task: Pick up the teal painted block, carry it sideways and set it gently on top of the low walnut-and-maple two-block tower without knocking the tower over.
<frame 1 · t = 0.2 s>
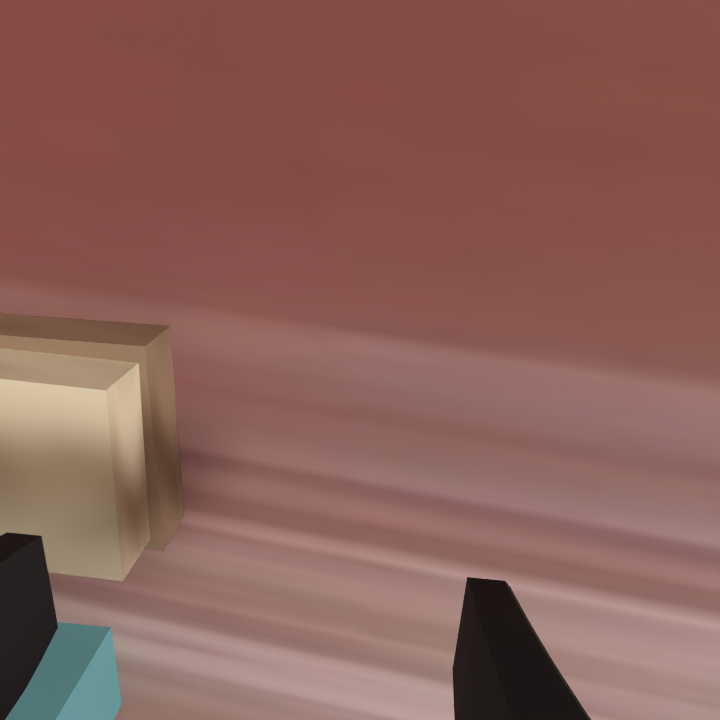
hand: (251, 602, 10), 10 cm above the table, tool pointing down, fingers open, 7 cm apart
maple top block: (46, 445, 18), point 2 cm above the table, touching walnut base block
teal block: (66, 659, 25), on the table
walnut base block: (82, 411, 21), on the table, touching maple top block
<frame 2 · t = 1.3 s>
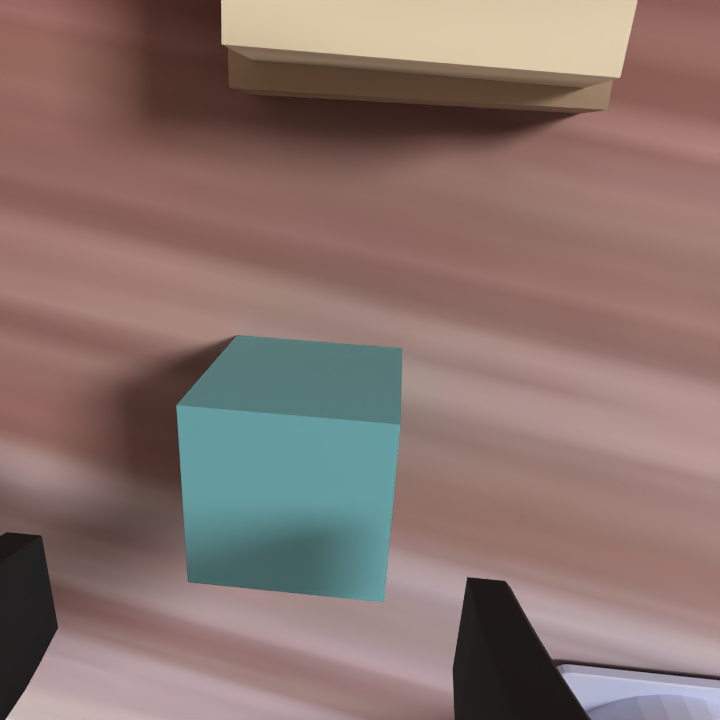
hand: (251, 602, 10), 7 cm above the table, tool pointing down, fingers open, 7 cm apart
teal block: (316, 414, 16), on the table
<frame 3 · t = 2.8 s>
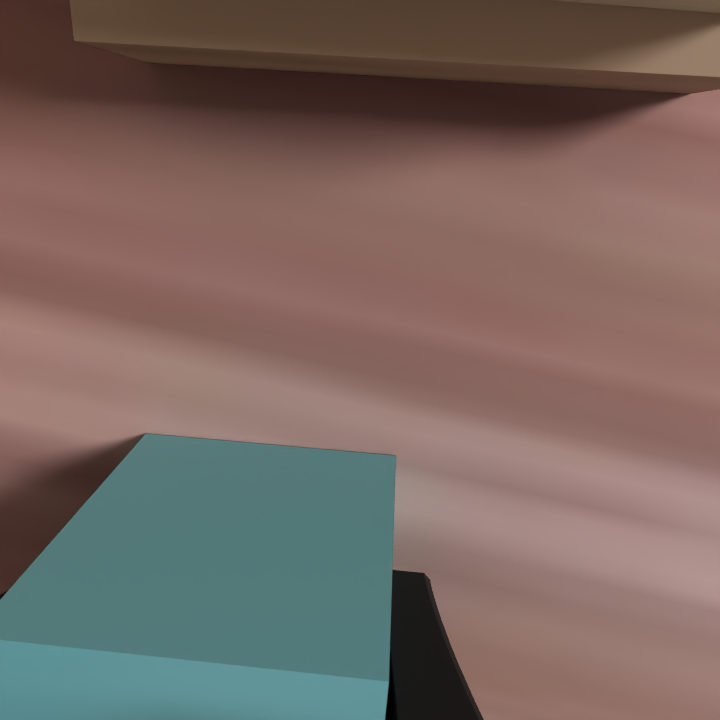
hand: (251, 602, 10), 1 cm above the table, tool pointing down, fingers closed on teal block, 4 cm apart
teal block: (269, 546, 11), on the table, touching gripper
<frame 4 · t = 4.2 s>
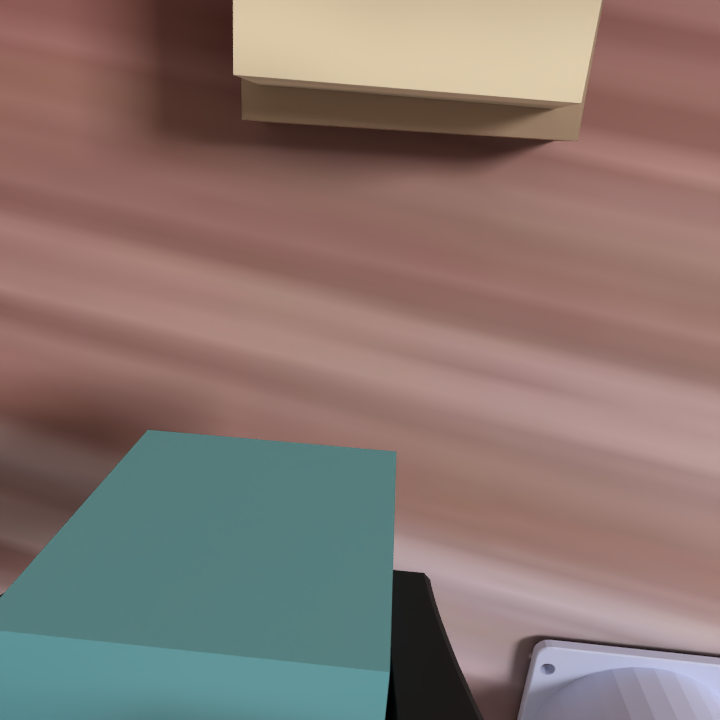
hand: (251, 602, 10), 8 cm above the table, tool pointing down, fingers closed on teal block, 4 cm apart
teal block: (270, 542, 11), point 7 cm above the table, touching gripper
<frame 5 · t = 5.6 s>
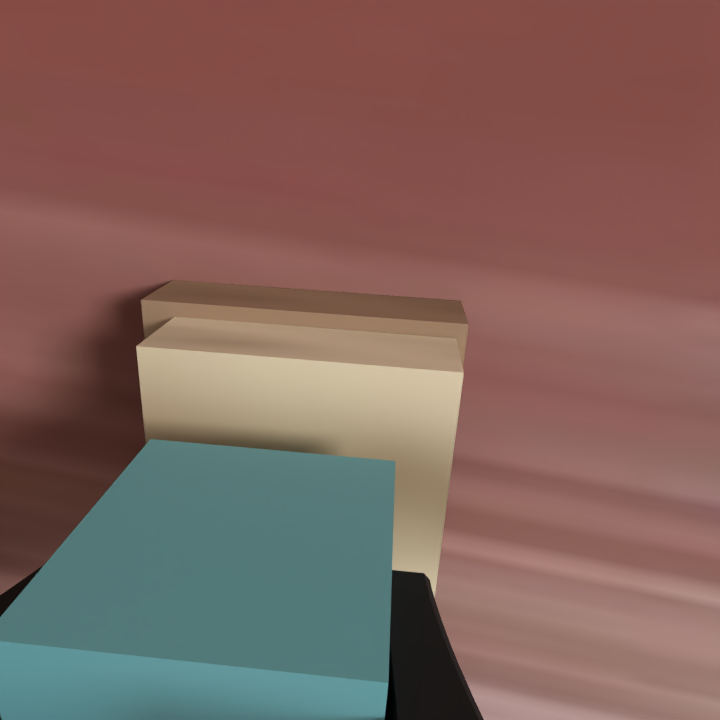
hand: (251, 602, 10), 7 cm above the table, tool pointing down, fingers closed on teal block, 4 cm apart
maple top block: (310, 451, 14), point 2 cm above the table, touching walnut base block
teal block: (271, 549, 11), point 5 cm above the table, touching gripper
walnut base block: (314, 410, 17), on the table, touching maple top block
when the fingers open (7 cm above the table, at t = 6.3 s): teal block drops 2 cm, resting on maple top block.
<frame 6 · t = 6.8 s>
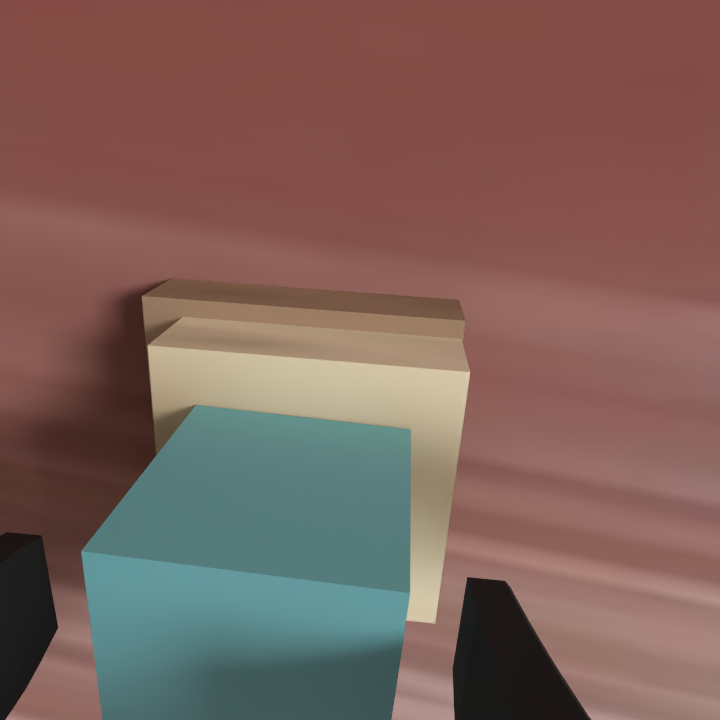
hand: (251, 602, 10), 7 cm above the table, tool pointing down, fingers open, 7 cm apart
maple top block: (316, 449, 14), point 2 cm above the table, touching teal block, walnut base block
teal block: (298, 506, 13), point 4 cm above the table, touching maple top block
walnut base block: (313, 407, 17), on the table, touching maple top block
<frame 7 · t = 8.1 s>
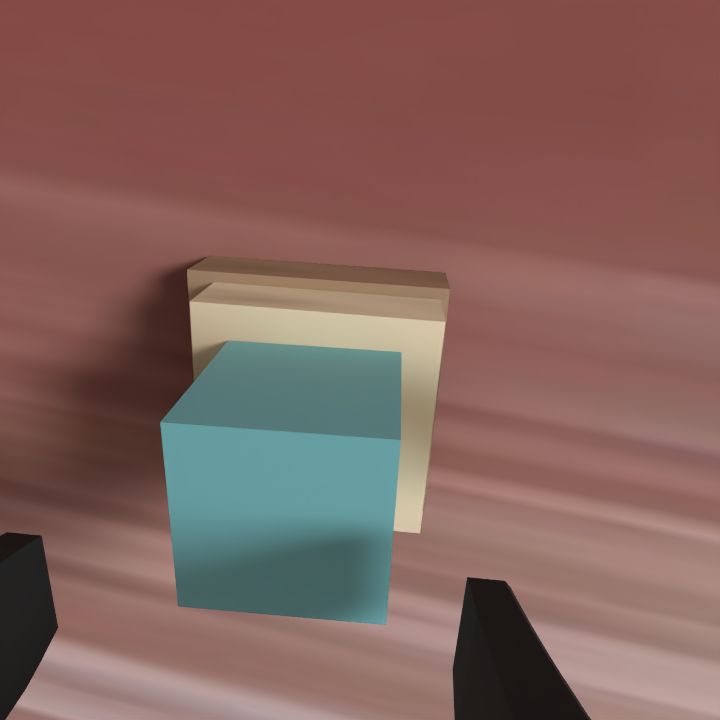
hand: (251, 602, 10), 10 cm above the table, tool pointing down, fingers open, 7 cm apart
maple top block: (322, 393, 17), point 2 cm above the table, touching teal block, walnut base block
teal block: (313, 423, 16), point 4 cm above the table, touching maple top block
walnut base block: (324, 368, 20), on the table, touching maple top block
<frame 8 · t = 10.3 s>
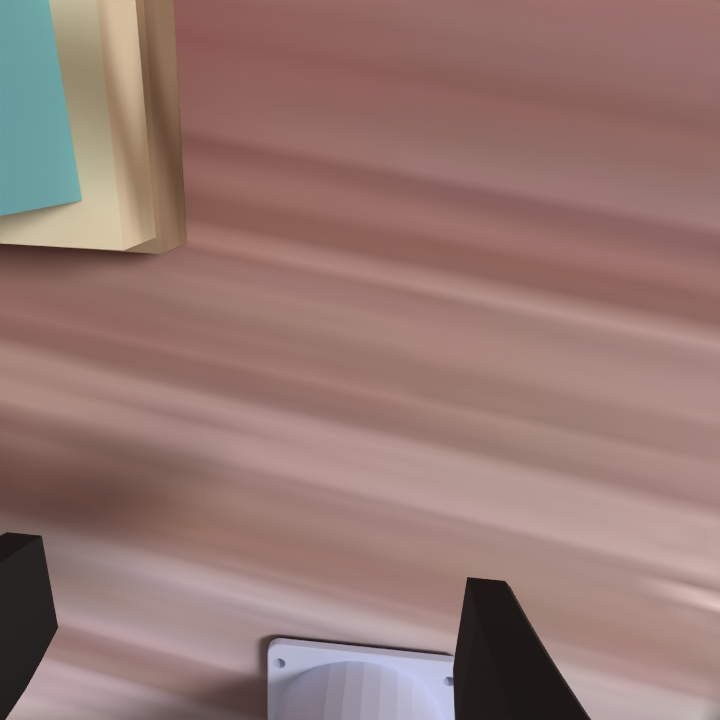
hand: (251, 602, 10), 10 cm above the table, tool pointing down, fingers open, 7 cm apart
maple top block: (24, 106, 15), point 2 cm above the table, touching teal block
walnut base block: (65, 107, 17), on the table
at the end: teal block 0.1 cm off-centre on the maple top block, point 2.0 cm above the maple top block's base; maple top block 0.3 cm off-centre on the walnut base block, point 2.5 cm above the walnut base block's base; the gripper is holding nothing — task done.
